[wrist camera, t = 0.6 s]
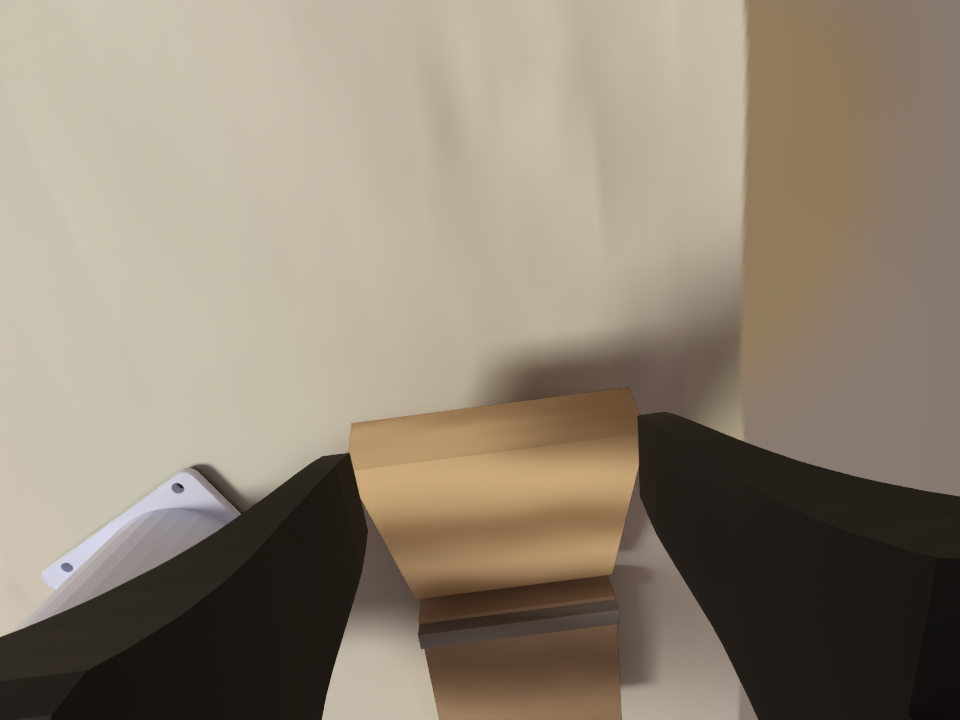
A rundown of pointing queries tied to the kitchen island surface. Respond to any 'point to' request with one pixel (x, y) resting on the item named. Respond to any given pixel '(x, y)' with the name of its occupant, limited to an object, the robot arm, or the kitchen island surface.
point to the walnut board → (525, 652)
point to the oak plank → (501, 490)
